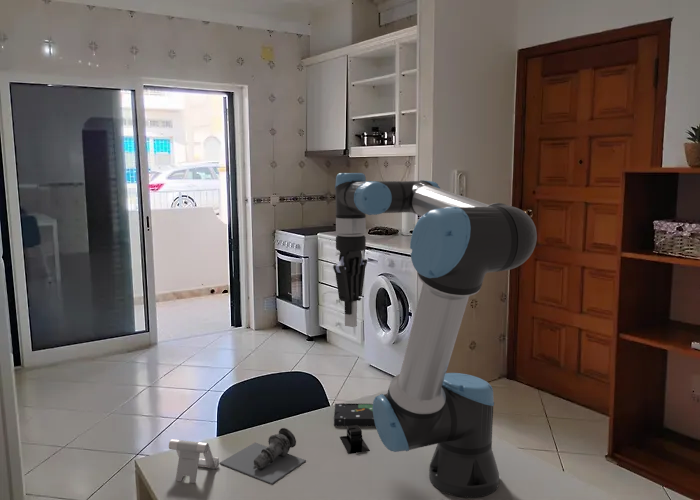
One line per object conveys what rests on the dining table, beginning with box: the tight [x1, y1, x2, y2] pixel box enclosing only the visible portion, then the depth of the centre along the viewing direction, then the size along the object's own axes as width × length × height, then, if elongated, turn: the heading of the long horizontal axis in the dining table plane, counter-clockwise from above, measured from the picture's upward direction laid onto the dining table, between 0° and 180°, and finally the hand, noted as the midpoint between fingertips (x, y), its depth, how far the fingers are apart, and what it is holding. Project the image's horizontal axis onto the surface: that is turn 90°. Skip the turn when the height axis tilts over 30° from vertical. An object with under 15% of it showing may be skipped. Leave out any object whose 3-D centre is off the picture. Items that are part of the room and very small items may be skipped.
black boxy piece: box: [339, 425, 371, 455], centre depth 143 cm, size 12×7×5 cm, turn 15°
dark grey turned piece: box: [253, 427, 297, 470], centre depth 133 cm, size 6×6×12 cm
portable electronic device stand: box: [168, 438, 220, 484], centre depth 129 cm, size 9×8×8 cm
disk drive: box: [333, 402, 376, 427], centre depth 158 cm, size 10×3×15 cm
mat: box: [219, 442, 307, 485], centre depth 134 cm, size 16×12×1 cm
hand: (350, 325), depth 147 cm, fingers closed
